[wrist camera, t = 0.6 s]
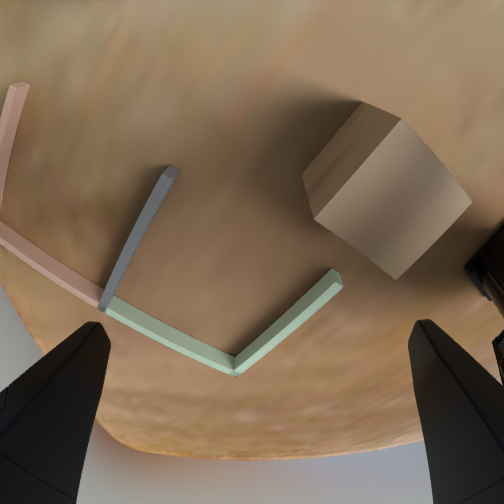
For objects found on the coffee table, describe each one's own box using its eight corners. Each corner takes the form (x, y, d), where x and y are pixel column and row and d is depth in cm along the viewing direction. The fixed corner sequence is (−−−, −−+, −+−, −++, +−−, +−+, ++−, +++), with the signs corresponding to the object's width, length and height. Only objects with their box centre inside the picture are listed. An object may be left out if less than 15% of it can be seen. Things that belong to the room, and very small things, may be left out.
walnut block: (425, 163, 18) (472, 201, 13) (367, 225, 21) (395, 280, 16) (362, 101, 16) (401, 118, 11) (301, 174, 19) (313, 219, 14)
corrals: (339, 273, 23) (343, 286, 21) (237, 364, 29) (236, 377, 28) (24, 81, 15) (9, 84, 14) (-7, 222, 22) (-16, 230, 20)
